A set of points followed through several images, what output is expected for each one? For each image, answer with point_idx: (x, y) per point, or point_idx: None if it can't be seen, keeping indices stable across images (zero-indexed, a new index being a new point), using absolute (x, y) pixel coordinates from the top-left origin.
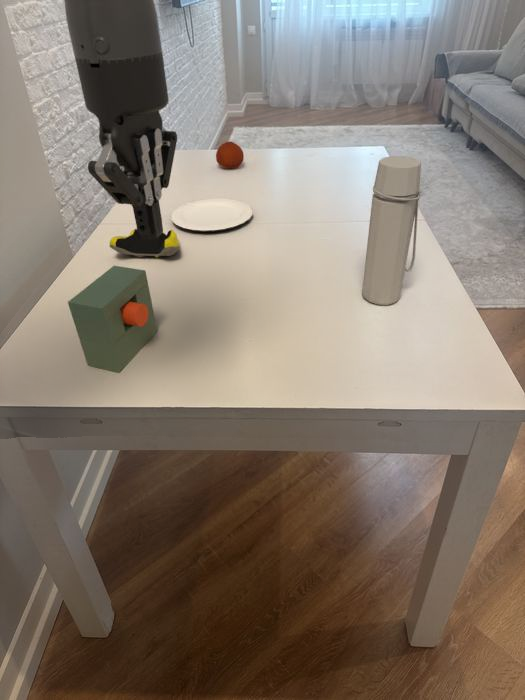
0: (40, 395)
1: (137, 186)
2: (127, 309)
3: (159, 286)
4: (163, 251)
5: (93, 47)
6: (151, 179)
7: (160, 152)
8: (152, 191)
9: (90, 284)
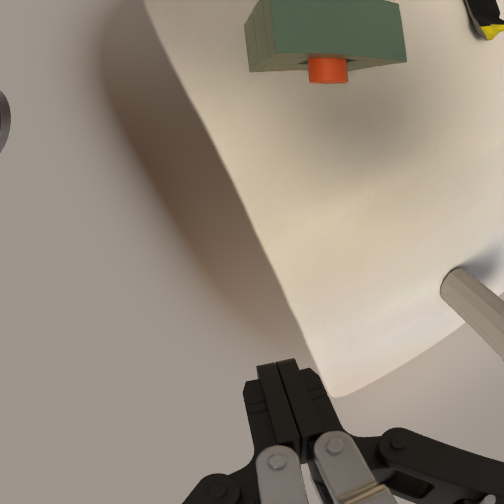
0: (167, 14)
1: (324, 478)
2: (322, 63)
3: (427, 32)
4: (476, 23)
5: None
6: None
7: None
8: (315, 486)
9: None
